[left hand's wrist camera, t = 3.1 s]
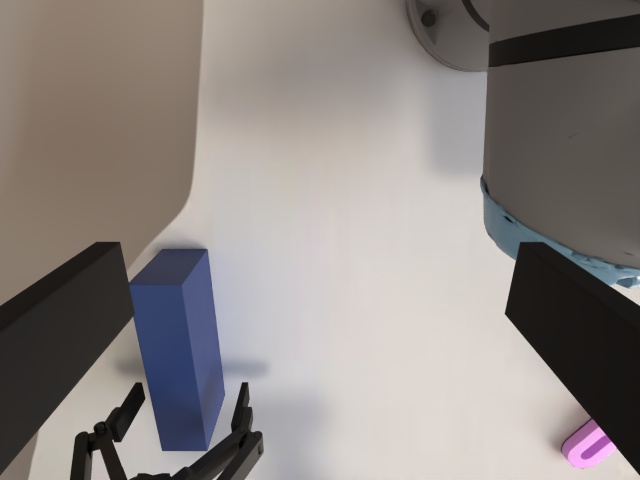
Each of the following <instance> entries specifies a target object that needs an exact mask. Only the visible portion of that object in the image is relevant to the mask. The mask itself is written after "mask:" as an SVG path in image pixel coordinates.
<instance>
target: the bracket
mask: <svg viewBox="0 0 640 480" xmlns="http://www.w3.org/2000/svg"><path fill="white" fill-rule="evenodd" d="M616 449H617V448H616V446H615V445H614V444H613V443H612V442H611V440H610V439H609V438H608V437H607V436H606V434H605V433H604V432H603V431H602V430H601V428H600V427H599V426H598V425H597V424H596V422H595V421H594V420H593V419H592V420H591V421H589V422H588V423H587V424H586V425H585V426H583V427H582V428H581V429H580V430H579V431H578V432H576V433H575V434H574V435H573V436H572V437H570V438H569V439H568V440H567V441H566V442H565V443H564V445H563V447H562V452H563V454H564V456H565V457H566V459H567V460H568V462H569V463H570V464H571V465H572V466H574V467H576V468H588V467H592V466H594V465H596V464H598V463H599V462H601V461H602V460H603V459H605V458H606V457H607V456H608V455H610V454H611V453H612V452H613V451H615V450H616Z"/></svg>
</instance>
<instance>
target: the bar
mask: <svg viewBox="0 0 640 480" xmlns="http://www.w3.org/2000/svg"><path fill="white" fill-rule="evenodd" d="M129 287H130V292H131V296H132V301H133V306H134V311H135V315H134V316H133V317H134V322H135V327H136V331H137V336H138V340H139V345H140V350H141V354H142V359H143V364H144V368H145V373H146V378H147V382H148V387H149V392H150V396H151V401H152V406H153V410H154V415H155V420H156V424H157V429H158V434H159V438H160V443H161V448H162V451H207V450H208V447H209V444H210V441H211V438H212V435H213V431H214V428H215V425H216V422H217V419H218V415H219V412H220V409H221V406H222V403H223V400H224V396H225V391H224V383H223V375H222V366H221V358H220V350H219V341H218V333H217V325H216V316H215V308H214V300H213V291H212V283H211V275H210V267H209V258H208V250H207V249H163V250H161V251H160V252H159V253H158V254H157V255H156V256H155V257H154V258H153V259H152V260H151V261H150V262H149V263H148V264H147V265H146V266H145V267H144V268H143V269H142V270H141V271H140V272H139V273H138V274H137V275H136V276H135V277H134V278H133V279H132V280H131V281H130V282H129Z"/></svg>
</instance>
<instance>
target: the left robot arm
mask: <svg viewBox="0 0 640 480" xmlns="http://www.w3.org/2000/svg"><path fill="white" fill-rule="evenodd" d="M406 8H407V14H408V17H409V21H410V24H411V26H412V29H413V31H414V33H415V35H416V37H417V39H418V40H419V42H420V44H421V45H422V46H423V47H424V49H425V50H426V51H427V52H428V53H429V54H430V55H431V56H432V57H433V58H435V59H436V60H437V61H439V62H440V63H442V64H444V65H446V66H448V67H450V68H453V69H456V70H460V71H466V72H483V71H488V73H487V98H486V119H485V141H484V162H483V174H482V176H481V179H480V186H481V190H482V193H483V200H484V224H485V228H486V231H487V233H488V235H489V236H490V237H491V238H492V240H493V241H494V242H495V243H496V245H497V246H498V247H499V248H500V249H501V250H502V251H503V252H504V253H506V254H507V255H508V256H510V257H511V258H513V259H514V260H516V263H515V268H514V273H513V278H512V282H511V287H510V292H509V296H508V301H507V306H506V311H505V315H506V316H507V317H508V318H509V320H510V321H511V322H512V323H513V324H514V326H515V327H516V328H517V329H518V330H519V332H520V333H521V334H522V335H523V336H524V338H525V339H526V340H527V341H528V342H529V343H530V345H531V346H532V347H533V348H534V349H535V351H536V352H537V353H538V354H539V355H540V357H541V358H542V359H543V360H544V361H545V363H546V364H547V365H548V366H549V367H550V369H551V370H552V371H553V372H554V373H555V375H556V376H557V377H558V378H559V379H560V381H561V382H562V383H563V384H564V385H565V387H566V388H567V389H568V390H569V391H570V393H571V394H572V395H573V396H574V397H575V399H576V400H577V401H578V402H579V403H580V404H581V406H582V407H583V408H584V409H585V410H586V412H587V413H588V414H589V415H590V416H591V418H592V419H593V420H594V421H595V422H596V424H597V425H598V426H599V427H600V428H601V430H602V431H603V432H604V433H605V434H606V436H607V437H608V438H609V439H610V440H611V442H612V443H613V444H614V445H615V446H616V448H617V449H618V450H619V451H620V452H621V454H622V455H623V456H624V457H625V458H626V460H627V461H628V462H629V463H630V464H631V465H632V467H633V468H634V469H635V470H636V471H637V473H638V474H639V475H640V306H639V305H637V304H636V303H634V302H633V301H631V300H630V299H628V298H627V297H625V296H624V295H622V294H621V293H619V292H618V291H616V290H615V289H613V288H612V286H614V285H615V284H618V285H621V286H623V287H626V288H640V0H406ZM519 63H520V64H519ZM512 64H513V65H512ZM134 315H135V311H134V306H133V301H132V296H131V292H130V287H129V282H128V278H127V273H126V268H125V264H124V259H123V254H122V249H121V245H120V242H96V243H94V244H93V245H91V246H90V247H88V248H87V249H85V250H84V251H82V252H81V253H79V254H78V255H76V256H75V257H73V258H72V259H70V260H69V261H67V262H66V263H64V264H63V265H61V266H60V267H58V268H57V269H55V270H54V271H52V272H51V273H49V274H48V275H46V276H45V277H43V278H42V279H40V280H39V281H37V282H36V283H34V284H33V285H31V286H30V287H28V288H27V289H25V290H24V291H22V292H21V293H19V294H18V295H16V296H15V297H13V298H12V299H10V300H9V301H7V302H6V303H4V304H3V305H1V306H0V475H1V474H2V473H3V471H4V470H5V469H6V468H7V467H8V465H9V464H10V463H11V462H12V461H13V459H14V458H15V457H16V456H17V455H18V454H19V452H20V451H21V450H22V449H23V447H24V446H25V445H26V444H27V443H28V442H29V440H30V439H31V438H32V437H33V436H34V434H35V433H36V432H37V431H38V430H39V428H40V427H41V426H42V425H43V424H44V422H45V421H46V420H47V419H48V418H49V416H50V415H51V414H52V413H53V412H54V410H55V409H56V408H57V407H58V406H59V404H60V403H61V402H62V401H63V400H64V399H65V397H66V396H67V395H68V394H69V393H70V391H71V390H72V389H73V388H74V387H75V385H76V384H77V383H78V382H79V381H80V379H81V378H82V377H83V376H84V375H85V373H86V372H87V371H88V370H89V369H90V367H91V366H92V365H93V364H94V363H95V361H96V360H97V359H98V358H99V357H100V355H101V354H102V353H103V352H104V351H105V349H106V348H107V347H108V346H109V345H110V343H111V342H112V341H113V340H114V339H115V338H116V336H117V335H118V334H119V333H120V332H121V330H122V329H123V328H124V327H125V326H126V324H127V323H128V322H129V321H130V320H131V318H132V317H133V316H134Z"/></svg>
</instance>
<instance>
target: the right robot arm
mask: <svg viewBox="0 0 640 480" xmlns="http://www.w3.org/2000/svg"><path fill="white" fill-rule="evenodd" d="M144 400H145V395H144V390H143V386H142V382H136V383H135V385H134V386H133V388H132V389H131V391H130V393H129V394H128V396H127V397H126V399H125V401H124V402H123V404H122V405H121V407H116V408H115V409H114V410H112V412H111V413H110V415H109V416H108V418H107V420H106V421H105V422H104V421H102V422H98V423H97V424H96V425H95V426H94V433H90V434H88V432H85V431H84V432H81V433H79V434H78V435H77V436H76V437H75V444H74V452H73V460H72V468H71V475H70V480H91V470H92V456H93V451H95V450H99V449H100V451H101V454H102V457H103V460H104V463H105V466H106V469H107V472H108V475H109V478H110V480H127V478H126V475H125V472H124V470H123V467H122V465H121V463H120V460H119V457H118V455H117V452H116V449H115V447H114V444H113V442H112V440H114V442H121V441H122V439H123V437H124V436H125V434H126V432H127V430H128V429H129V427H130V425H131V423H132V422H133V420H134V418H135V416H136V414H137V413H138V411H139V409H140V407H141V406H142V404H143V402H144ZM248 403H249V388H248V382H242V385H241V389H240V392H239V396H238V400H237V404H236V407H235V411H234V415H233V419H232V423H231V429H232V433H231V434H230V435H229V436H227V437H226V438H225V439H224V440H222V441H221V442H220V443H219V444H217V445H216V446H215V447H214V448H212V449H211V450H210V451H209V452H207V453H206V454H205V455H204V456H202V457H201V458H200V459H199V460H197V461H196V462H195V463H194V464H192V465H191V466H190V467H184V468H182V469H181V470H180V471H178V472H177V473H176V474H175V475H173V476H172V477H171V476H170V473H161V474H157V475H150V474H146V473H138V475H137V476H136V477H133V478H131V479H130V480H212V479H213V478H215V477H216V476H217V475H218V474H219V473H220V472H221V471H223V470H224V471H223V472H222V473H221V474H220V476H219V477H218V478H217V480H244V479H245V478H246V477H247V475H248V474H249V472H250V471H251V470H252V468H253V467H254V465H255V464H256V462H257V461H258V460H259V458H260V457H261V455H262V454H263V452H264V449H263V436H262V433H261V432H260V431H255V432H254V433H253V432H251V427H252V422H253V412H252V407H248Z"/></svg>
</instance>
